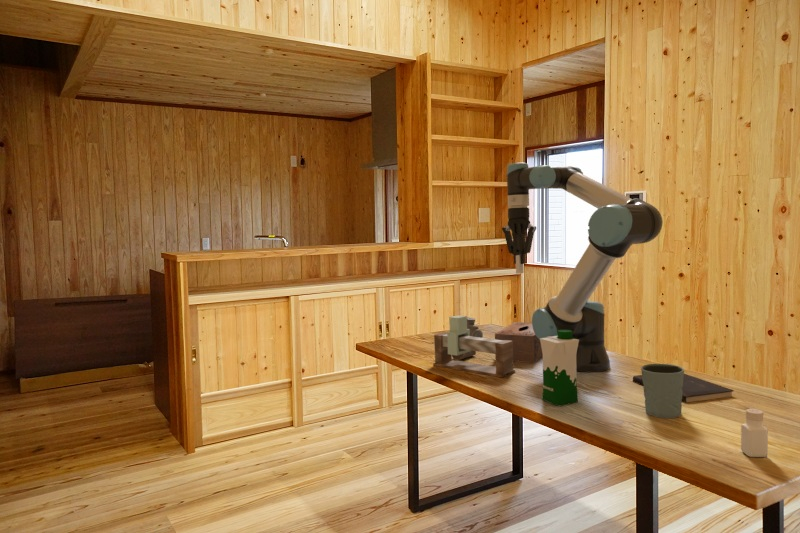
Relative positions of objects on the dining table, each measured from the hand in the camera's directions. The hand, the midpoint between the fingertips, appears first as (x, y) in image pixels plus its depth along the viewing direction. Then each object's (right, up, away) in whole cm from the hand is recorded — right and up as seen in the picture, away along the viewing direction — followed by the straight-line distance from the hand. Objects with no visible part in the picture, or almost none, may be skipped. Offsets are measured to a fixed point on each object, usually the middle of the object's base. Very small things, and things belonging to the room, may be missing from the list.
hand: (519, 273), depth 210 cm
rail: (-18, -34, -5) cm, 38 cm away
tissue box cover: (+5, -32, +15) cm, 36 cm away
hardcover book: (+40, -35, -36) cm, 64 cm away
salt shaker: (+33, -38, -85) cm, 99 cm away
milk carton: (+2, -36, -44) cm, 57 cm away
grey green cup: (+26, -36, -57) cm, 72 cm away
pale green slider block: (-22, -28, -1) cm, 36 cm away
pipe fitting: (-13, -30, +42) cm, 53 cm away
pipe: (-20, -33, +16) cm, 41 cm away
